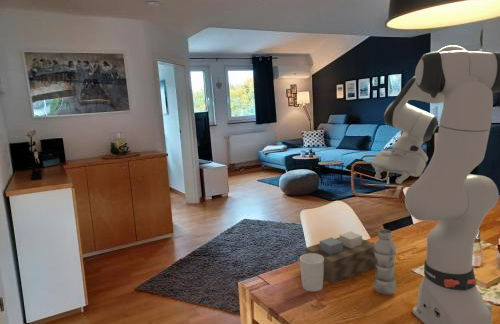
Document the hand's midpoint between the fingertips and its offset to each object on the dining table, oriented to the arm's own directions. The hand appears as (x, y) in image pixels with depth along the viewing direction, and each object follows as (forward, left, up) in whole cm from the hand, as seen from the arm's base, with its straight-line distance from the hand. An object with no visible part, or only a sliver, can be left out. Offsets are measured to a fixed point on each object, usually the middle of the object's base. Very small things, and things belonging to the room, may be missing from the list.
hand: (387, 180), depth 134 cm
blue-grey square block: (-11, +24, -22) cm, 34 cm away
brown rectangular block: (-8, +19, -30) cm, 36 cm away
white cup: (-21, +32, -30) cm, 48 cm away
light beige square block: (-6, +15, -22) cm, 28 cm away
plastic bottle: (-26, +10, -30) cm, 41 cm away
